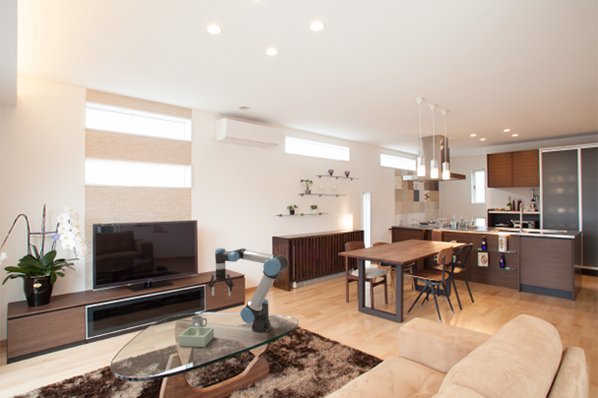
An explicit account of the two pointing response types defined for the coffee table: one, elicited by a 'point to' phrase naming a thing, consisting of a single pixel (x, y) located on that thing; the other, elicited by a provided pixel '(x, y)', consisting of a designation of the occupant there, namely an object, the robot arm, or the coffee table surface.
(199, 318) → the mug
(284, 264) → the robot arm
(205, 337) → the box
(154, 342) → the coffee table surface
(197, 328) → the peg
